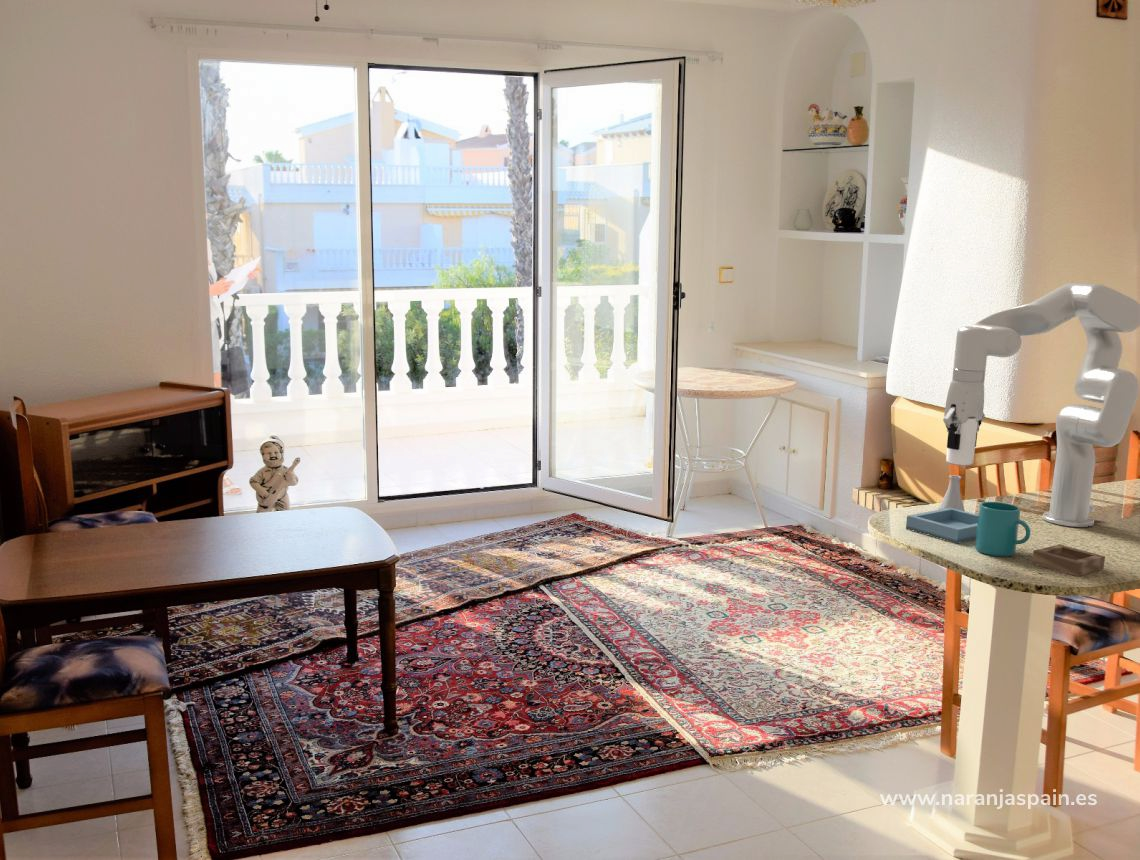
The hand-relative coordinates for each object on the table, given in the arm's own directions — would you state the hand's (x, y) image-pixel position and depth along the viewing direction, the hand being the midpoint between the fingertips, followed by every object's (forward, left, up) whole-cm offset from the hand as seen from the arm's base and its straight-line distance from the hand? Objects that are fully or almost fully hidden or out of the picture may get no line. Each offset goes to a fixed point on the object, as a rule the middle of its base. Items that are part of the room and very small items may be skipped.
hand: (961, 447), depth 270 cm
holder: (+2, +32, -22) cm, 39 cm away
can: (0, 0, -4) cm, 4 cm away
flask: (-18, -13, -22) cm, 31 cm away
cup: (+6, +18, -22) cm, 29 cm away
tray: (0, 0, -22) cm, 22 cm away
